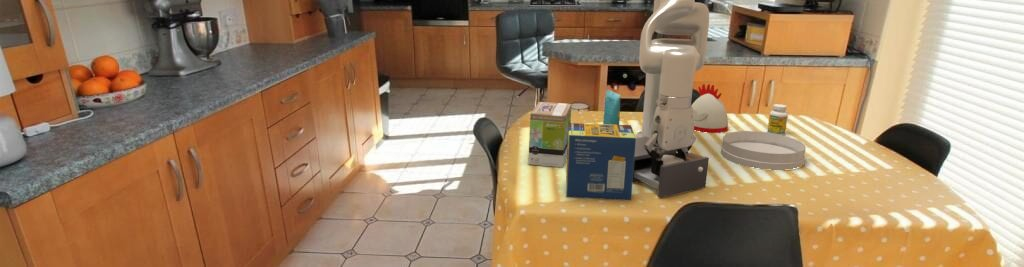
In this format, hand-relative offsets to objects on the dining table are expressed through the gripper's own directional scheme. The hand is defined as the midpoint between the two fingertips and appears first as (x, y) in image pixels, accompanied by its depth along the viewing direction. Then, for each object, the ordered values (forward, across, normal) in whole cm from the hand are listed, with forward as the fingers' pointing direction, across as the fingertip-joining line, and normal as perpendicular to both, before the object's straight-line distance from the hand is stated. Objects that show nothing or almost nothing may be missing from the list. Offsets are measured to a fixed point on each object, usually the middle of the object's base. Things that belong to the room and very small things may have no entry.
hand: (667, 171), depth 136 cm
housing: (+4, 0, +11) cm, 12 cm away
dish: (+4, +40, +4) cm, 40 cm away
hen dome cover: (+4, +50, +34) cm, 61 cm away
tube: (+4, 0, +23) cm, 23 cm away
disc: (-1, 0, 0) cm, 1 cm away
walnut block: (+4, +11, +3) cm, 12 cm away
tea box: (+4, -15, +31) cm, 35 cm away
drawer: (+3, 0, 0) cm, 3 cm away
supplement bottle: (+4, +65, +18) cm, 68 cm away
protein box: (+4, -18, +5) cm, 19 cm away
